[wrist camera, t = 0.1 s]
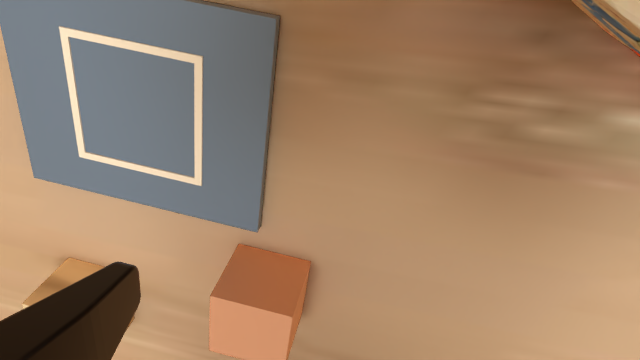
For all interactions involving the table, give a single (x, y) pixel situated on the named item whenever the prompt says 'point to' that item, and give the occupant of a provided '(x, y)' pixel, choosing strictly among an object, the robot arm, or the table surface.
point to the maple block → (63, 280)
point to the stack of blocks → (616, 19)
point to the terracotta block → (257, 304)
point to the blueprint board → (147, 100)
